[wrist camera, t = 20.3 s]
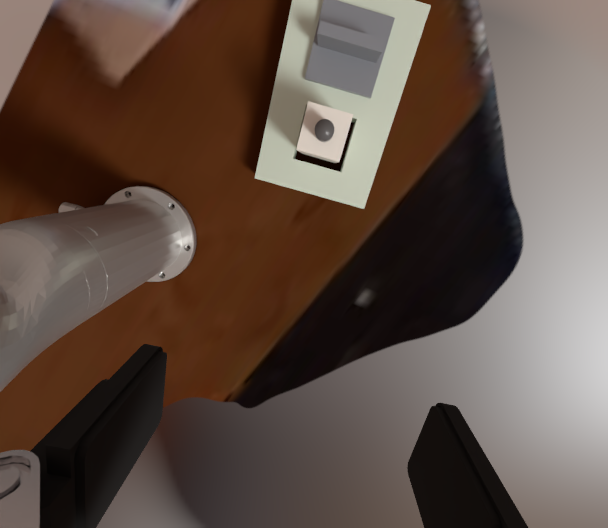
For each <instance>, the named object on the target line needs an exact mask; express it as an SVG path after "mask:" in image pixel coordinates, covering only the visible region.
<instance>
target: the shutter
mask: <svg viewBox="0 0 608 528" xmlns="http://www.w3.org/2000/svg"><path fill="white" fill-rule="evenodd" d="M394 20H395V18H394V17H391V16H388V15H384V14H381V13H378V12H374V11H371V10H368V9H364V8H361V7H358V6H354V5H351V4H348V3H344V2H341V1H338V0H323V4H322V8H321V12H320V16H319V21H318V25H317V29H316V33H315V37H314V42H313V46H312V50H311V54H310V58H309V63H308V67H307V71H306V75H305V80H308V81H312V82H315V83H319V84H322V85H325V86H329V87H332V88H336V89H339V90H343V91H346V92H349V93H353V94H356V95H360V96H363V97H366V98H371V96H372V93H373V89H374V86H375V83H376V79H377V76H378V73H379V69H380V66H381V63H382V59H383V56H384V53H385V49H386V46H387V43H388V40H389V36H390V33H391V30H392V26H393V23H394Z"/></svg>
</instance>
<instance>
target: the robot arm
mask: <svg viewBox="0 0 608 528" xmlns="http://www.w3.org/2000/svg"><path fill="white" fill-rule="evenodd" d="M173 204H174V205H175V208H174V207H173ZM188 245H189V246H190V248H189V247H188ZM195 249H196V232H195V227H194V225H193V222H192V219H191V217H190V216H189V214H188V212H187V210H186V209H185V208H184V207H183V206H182V204H181V203H180V202H179V201H177V200H176V199H175V198H174V197H173V196H171V195H169V194H168V193H166V192H164V191H162V190H159V189H157V188H153V187H148V186H135V187H128V188H125V189H122V190H119V191H118V192H116V193H115V194H113V195H112V196H111V197H110V198H109V199H108V200H107V201H106V203H105V204H104V205H101V206H95V207H89V208H83V207H82V206H79V205H76V204H72V203H68V202H64V203H62V204H61V205H60V207H59V213H55V214H49V215H43V216H38V217H32V218H26V219H21V220H15V221H11V222H7V223H4V224H0V392H1V391H2V389H3V388H4V387H5V386H6V385H7V384H8V383H9V382H10V381H11V380H12V379H13V378H14V377H15V376H16V375H17V374H18V373H19V372H20V371H21V370H22V369H23V368H24V367H25V366H26V365H28V364H29V363H30V362H31V361H32V360H33V359H34V358H35V357H36V356H38V355H39V354H40V353H41V352H42V351H43V350H45V349H46V348H47V347H49V346H50V345H51V344H53V343H54V342H55V341H57V340H58V339H59V338H61V337H62V336H64V335H65V334H66V333H68V332H69V331H71V330H72V329H74V328H75V327H77V326H78V325H80V324H81V323H83V322H84V321H86V320H87V319H89V318H90V317H92V316H94V315H95V314H97V313H98V312H100V311H101V310H103V309H104V308H106V307H107V306H109V305H110V304H112V303H114V302H115V301H117V300H118V299H120V298H121V297H123V296H124V295H126V294H127V293H129V292H130V291H132V290H133V289H135V288H137V287H138V286H140V285H141V284H143V283H144V282H146V281H148V282H160V281H165V280H168V279H171V278H173V277H175V276H177V275H178V274H180V273H181V272H182V271H183V270H184V269H185V268H187V266H188V265H189V263H190V262H191V260H192V258H193V256H194V253H195ZM166 361H167V354H166V353H165V352H163V350H162V348H161V347H158V346H153V345H148V344H144V345H142V346H141V347H140V348H139V349H138V350H137V351H136V352H135V353H134V354H133V355H132V356H131V357H130V358H129V360H128V361H127V362H126V363H125V364H124V365H123V366H122V367H121V368H120V369H119V370H118V371H117V372H116V373H115V374H114V375H113V376H112V377H111V378H110V379H109V380H107V379H105V380H102V381H101V382H100V383H98V384H97V385H96V386H95V387H94V388H93V389H92V390H91V391H90V392H89V393H88V394H87V395H86V396H85V397H84V398H83V399H82V400H81V401H80V402H79V403H78V404H77V405H76V406H75V407H74V408H73V409H72V410H71V411H70V412H69V413H68V414H67V415H66V416H65V417H64V418H63V419H62V420H61V421H60V422H59V423H58V424H57V425H56V426H55V427H54V428H53V429H52V430H51V431H50V432H49V433H48V434H47V435H46V436H45V437H44V438H43V439H42V440H41V441H40V442H39V443H38V444H37V445H36V446H35V447H34V448H33V449H32V450H31V451H30V452H29V451H26V450H12V451H7V452H3V453H0V528H96V527H97V525H98V523H99V522H100V520H101V518H102V517H103V515H104V514H105V512H106V510H107V509H108V507H109V505H110V504H111V502H112V500H113V499H114V497H115V495H116V494H117V492H118V491H119V489H120V487H121V486H122V484H123V482H124V481H125V479H126V477H127V476H128V474H129V473H130V471H131V469H132V468H133V466H134V464H135V463H136V461H137V459H138V458H139V456H140V455H141V453H142V451H143V449H144V448H145V446H146V445H147V443H148V441H149V440H150V438H151V436H152V435H153V433H154V432H155V430H156V428H157V427H158V425H159V423H160V420H161V417H162V409H163V397H164V385H165V373H166ZM408 475H409V478H410V482H411V485H412V488H413V492H414V494H415V498H416V501H417V505H418V508H419V512H420V515H421V518H422V521H423V525H424V528H528V526H527V525H526V523H525V521H524V520H523V518H522V516H521V514H520V513H519V511H518V510H517V508H516V506H515V504H514V503H513V501H512V499H511V498H510V496H509V494H508V493H507V491H506V489H505V487H504V486H503V484H502V482H501V481H500V479H499V477H498V475H497V474H496V472H495V470H494V469H493V467H492V465H491V464H490V462H489V460H488V458H487V457H486V455H485V454H484V452H483V450H482V448H481V447H480V445H479V443H478V442H477V440H476V438H475V437H474V435H473V433H472V431H471V430H470V428H469V426H468V424H467V423H466V421H465V419H464V418H463V416H462V414H461V413H460V411H459V409H458V408H457V407H456V406H453V405H448V404H443V403H437V404H436V406H432V407H431V409H430V411H429V413H428V416H427V418H426V421H425V423H424V425H423V428H422V430H421V433H420V435H419V437H418V440H417V442H416V445H415V447H414V450H413V452H412V455H411V457H410V459H409V462H408Z"/></svg>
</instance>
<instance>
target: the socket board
mask: <svg viewBox="0 0 608 528" xmlns="http://www.w3.org/2000/svg"><path fill="white" fill-rule="evenodd" d="M338 1H341V2H344V3H348V4H351V5H354V6H358V7H361V8H364V9H368V10H371V11H374V12H378V13H381V14H384V15H388V16H391V17H394V18H395V20H394V23H393V26H392V30H391V33H390V36H389V40H388V43H387V46H386V49H385V53H384V56H383V59H382V63H381V66H380V69H379V73H378V76H377V79H376V83H375V86H374V89H373V93H372V96H371V98H366V97H363V96H360V95H356V94H353V93H349V92H346V91H343V90H339V89H336V88H332V87H329V86H325V85H322V84H319V83H315V82H312V81H308V80H305V75H306V71H307V67H308V63H309V58H310V54H311V50H312V46H313V42H314V37H315V33H316V29H317V25H318V21H319V16H320V12H321V8H322V4H323V0H292V4H291V8H290V13H289V18H288V23H287V27H286V32H285V37H284V41H283V46H282V51H281V56H280V60H279V65H278V70H277V75H276V79H275V84H274V89H273V93H272V98H271V103H270V108H269V112H268V117H267V122H266V127H265V131H264V136H263V141H262V145H261V150H260V155H259V160H258V164H257V169H256V174H255V178H256V179H259V180H263V181H266V182H270V183H273V184H277V185H281V186H284V187H288V188H291V189H295V190H298V191H302V192H305V193H309V194H313V195H316V196H320V197H323V198H327V199H330V200H334V201H337V202H341V203H345V204H348V205H352V206H355V207H359V208H362V209H364V207H365V204H366V201H367V198H368V195H369V192H370V189H371V186H372V183H373V180H374V177H375V174H376V171H377V168H378V165H379V162H380V159H381V156H382V153H383V150H384V147H385V144H386V141H387V138H388V135H389V131H390V128H391V125H392V122H393V119H394V116H395V113H396V110H397V107H398V104H399V101H400V98H401V95H402V92H403V89H404V86H405V83H406V80H407V77H408V74H409V71H410V68H411V65H412V62H413V59H414V56H415V53H416V50H417V46H418V43H419V40H420V37H421V34H422V31H423V28H424V25H425V22H426V19H427V16H428V13H429V10H430V7H431V5H428V4H425V3H422V2H418V1H415V0H338ZM308 101H309V102H313V103H316V104H320V105H323V106H326V107H330V108H333V109H337V110H340V111H343V112H347V113H350V114H353V118H352V121H351V122H353V123H354V125H353V129H352V132H351V136H350V139H349V142H348V146H347V149H346V153H345V156H344V159H343V163H342V166H341V170H340V172H339V171H335V170H332V169H328V168H325V167H321V166H318V165H314V164H311V163H307V162H304V161H300V160H297V159H295V158H296V154H297V150H296V149H297V144H298V140H299V136H300V132H301V128H302V124H303V120H304V116H305V112H306V108H307V104H308Z"/></svg>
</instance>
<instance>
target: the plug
mask: <svg viewBox="0 0 608 528" xmlns="http://www.w3.org/2000/svg"><path fill="white" fill-rule="evenodd" d="M352 118H353V114H350V113H347V112H343V111H340V110H337V109H333V108H330V107H326V106H323V105H320V104H316V103H313V102H309V101H308V104H307V108H306V112H305V116H304V120H303V124H302V128H301V132H300V136H299V140H298V144H297V149H296V150H297V151H299V152H300V153H302V154H304V155H308V156H311V157H315V158H318V159H322V160H325V161H329V162H332V163H338V162H340V159H341V155H342V152H343V148H344V145H345V141H346V138H347V135H348V131H349V128H350V124H351V121H352Z"/></svg>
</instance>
